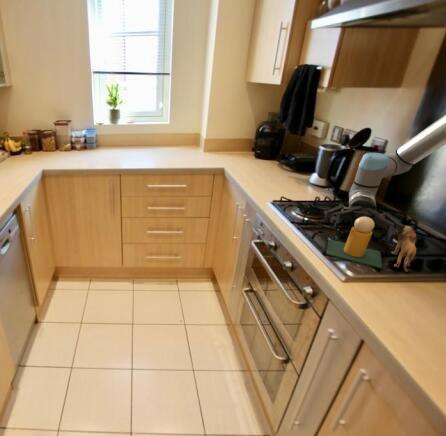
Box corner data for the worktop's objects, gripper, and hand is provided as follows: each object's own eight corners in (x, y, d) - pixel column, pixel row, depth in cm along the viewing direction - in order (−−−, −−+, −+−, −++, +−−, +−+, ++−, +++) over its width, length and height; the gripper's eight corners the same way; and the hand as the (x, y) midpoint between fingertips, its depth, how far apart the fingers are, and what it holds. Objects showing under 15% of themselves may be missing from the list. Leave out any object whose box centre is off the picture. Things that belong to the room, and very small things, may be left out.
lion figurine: (383, 244, 103) (397, 221, 98) (402, 249, 101) (417, 226, 96) (395, 270, 91) (411, 245, 87) (417, 276, 89) (435, 251, 85)
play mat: (379, 253, 100) (380, 251, 99) (381, 269, 92) (382, 267, 92) (328, 241, 107) (328, 239, 106) (326, 255, 99) (326, 253, 99)
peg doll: (363, 250, 100) (377, 216, 94) (363, 258, 96) (378, 223, 90) (343, 246, 102) (356, 212, 97) (343, 253, 99) (356, 218, 93)
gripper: (403, 224, 105) (412, 255, 89) (318, 207, 117) (312, 232, 102) (412, 203, 102) (423, 232, 86) (323, 189, 114) (318, 211, 98)
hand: (363, 232), depth 94 cm, fingers open, 13 cm apart
